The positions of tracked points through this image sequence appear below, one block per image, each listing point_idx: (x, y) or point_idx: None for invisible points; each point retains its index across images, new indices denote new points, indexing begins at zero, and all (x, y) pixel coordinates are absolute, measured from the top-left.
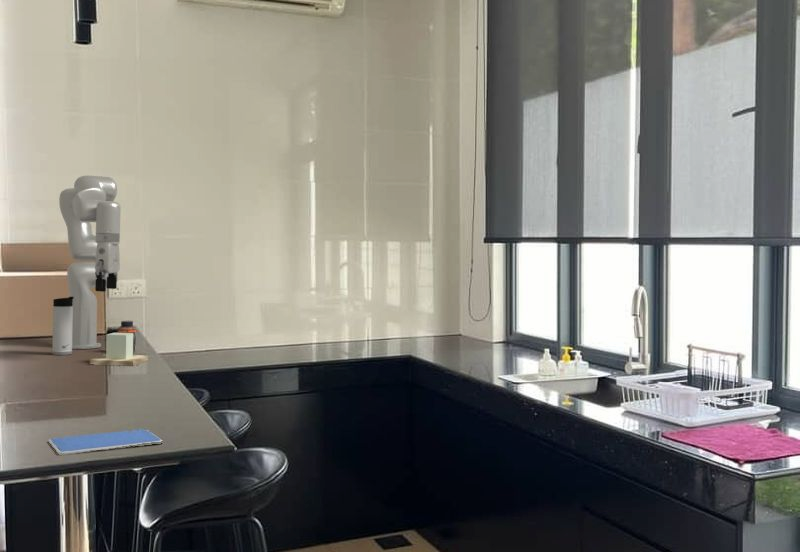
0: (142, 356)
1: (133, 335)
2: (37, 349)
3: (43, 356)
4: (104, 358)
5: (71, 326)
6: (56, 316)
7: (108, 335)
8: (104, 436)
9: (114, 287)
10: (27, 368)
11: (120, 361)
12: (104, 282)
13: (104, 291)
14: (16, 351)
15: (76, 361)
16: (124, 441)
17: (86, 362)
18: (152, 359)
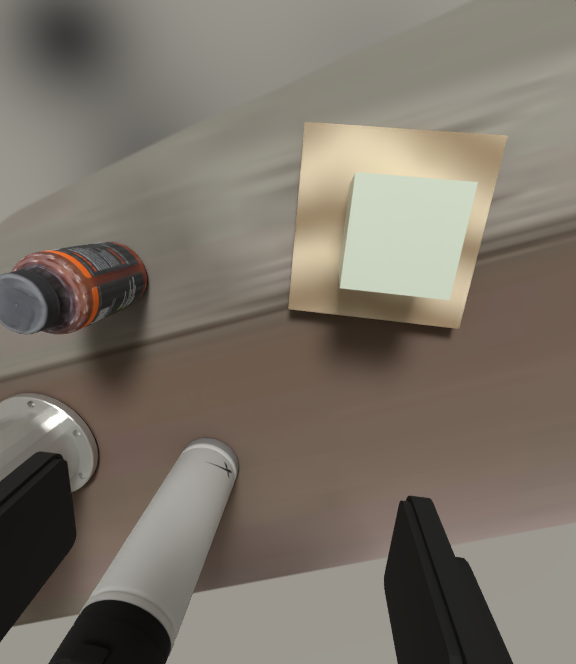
0: (342, 139)
1: (81, 253)
2: None
3: (268, 497)
4: None
5: (172, 509)
6: (190, 598)
7: (451, 288)
8: None
9: (59, 473)
10: (537, 481)
11: (489, 199)
12: (473, 624)
13: (427, 498)
14: None
15: (370, 384)
16: None
17: (393, 347)
18: (286, 110)
